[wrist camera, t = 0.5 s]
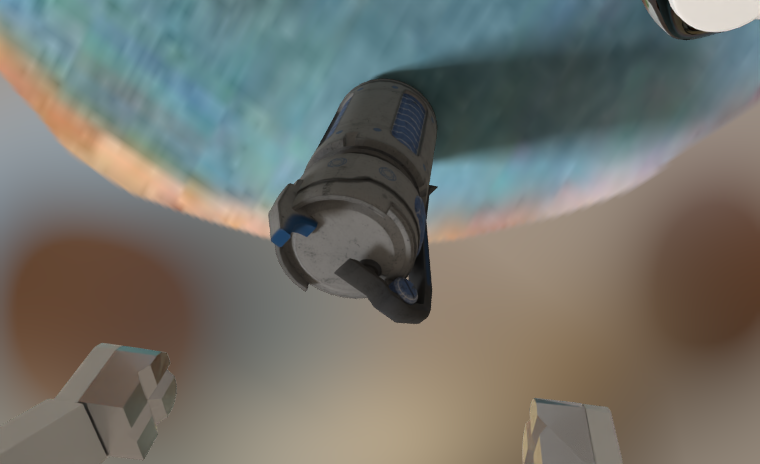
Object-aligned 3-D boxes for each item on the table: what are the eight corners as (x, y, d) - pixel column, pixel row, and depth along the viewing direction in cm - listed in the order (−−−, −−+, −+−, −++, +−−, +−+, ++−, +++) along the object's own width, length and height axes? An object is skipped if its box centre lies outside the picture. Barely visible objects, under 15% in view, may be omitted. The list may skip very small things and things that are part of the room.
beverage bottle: (410, 198, 61) (375, 372, 41) (314, 120, 58) (223, 270, 37) (476, 135, 56) (473, 301, 36) (375, 46, 52) (308, 173, 32)
